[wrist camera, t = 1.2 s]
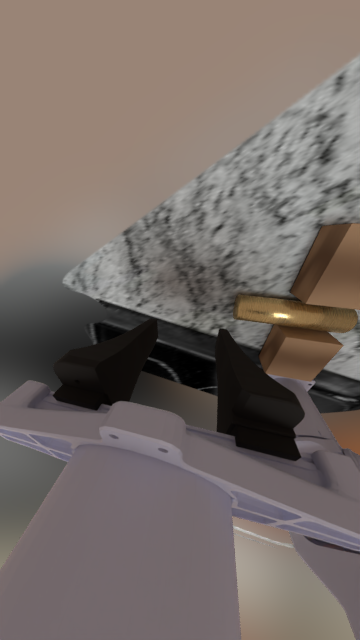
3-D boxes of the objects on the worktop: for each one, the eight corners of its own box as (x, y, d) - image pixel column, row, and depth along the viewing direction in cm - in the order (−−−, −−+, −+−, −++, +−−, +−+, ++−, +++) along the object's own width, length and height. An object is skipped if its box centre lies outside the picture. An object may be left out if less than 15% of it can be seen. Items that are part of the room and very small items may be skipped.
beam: (298, 363, 22) (310, 381, 19) (258, 356, 23) (265, 373, 20) (395, 228, 13) (449, 226, 10) (322, 225, 13) (352, 223, 11)
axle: (340, 301, 17) (365, 314, 14) (324, 323, 18) (343, 338, 16) (237, 291, 18) (242, 300, 16) (231, 312, 20) (235, 323, 17)
